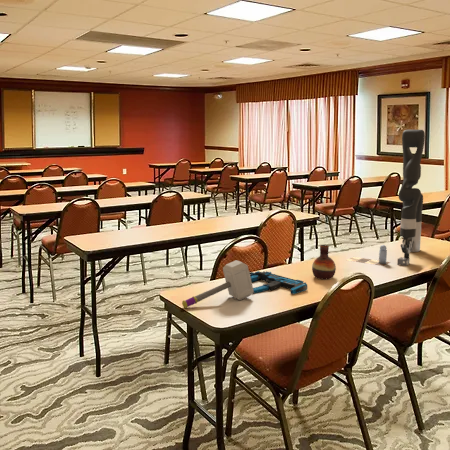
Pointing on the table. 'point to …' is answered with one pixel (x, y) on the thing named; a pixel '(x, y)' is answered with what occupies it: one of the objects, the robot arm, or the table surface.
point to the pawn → (382, 254)
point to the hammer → (229, 284)
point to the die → (403, 261)
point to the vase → (323, 265)
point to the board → (363, 260)
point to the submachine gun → (277, 282)
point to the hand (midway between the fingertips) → (406, 260)
